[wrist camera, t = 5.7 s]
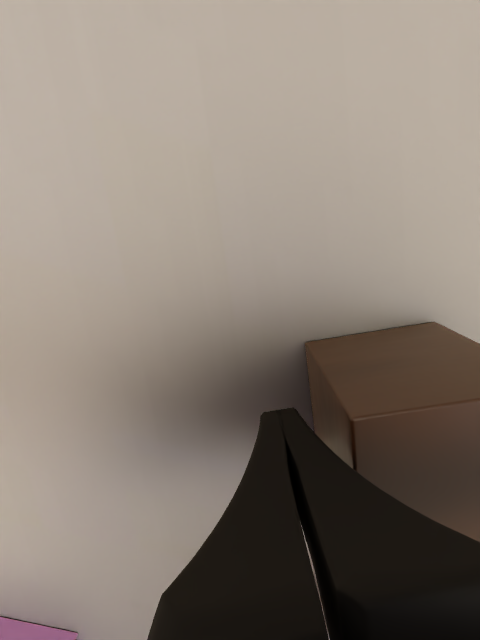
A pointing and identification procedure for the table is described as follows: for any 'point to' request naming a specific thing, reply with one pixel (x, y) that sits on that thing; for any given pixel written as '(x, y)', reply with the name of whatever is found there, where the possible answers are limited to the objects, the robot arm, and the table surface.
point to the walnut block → (405, 415)
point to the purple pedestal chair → (31, 631)
